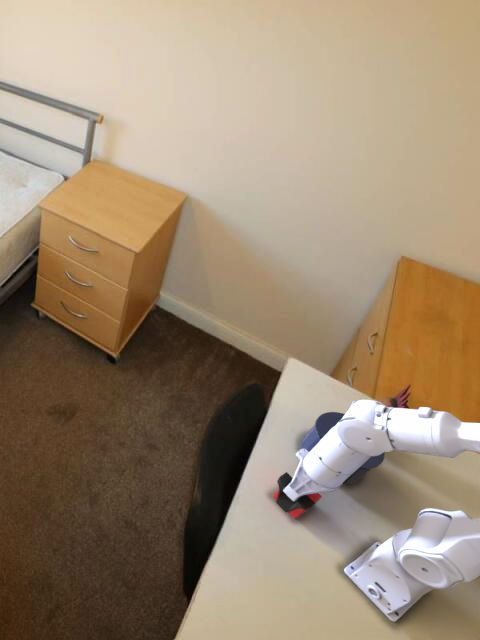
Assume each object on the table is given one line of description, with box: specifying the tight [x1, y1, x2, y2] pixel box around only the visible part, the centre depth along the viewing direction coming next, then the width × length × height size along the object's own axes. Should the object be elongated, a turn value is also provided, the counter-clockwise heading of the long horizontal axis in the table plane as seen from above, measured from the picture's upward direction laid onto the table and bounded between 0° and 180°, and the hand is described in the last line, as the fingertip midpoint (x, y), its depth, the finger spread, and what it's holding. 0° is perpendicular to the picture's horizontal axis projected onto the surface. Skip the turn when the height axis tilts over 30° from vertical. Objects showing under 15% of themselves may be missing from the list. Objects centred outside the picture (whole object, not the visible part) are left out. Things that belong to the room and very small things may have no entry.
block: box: [272, 489, 323, 519], centre depth 89 cm, size 4×4×5 cm
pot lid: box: [314, 411, 386, 470], centre depth 92 cm, size 11×11×4 cm
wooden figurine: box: [379, 384, 411, 409], centre depth 96 cm, size 7×6×15 cm
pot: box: [300, 424, 372, 486], centre depth 95 cm, size 10×10×6 cm
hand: (296, 496), depth 90 cm, fingers open, 7 cm apart
